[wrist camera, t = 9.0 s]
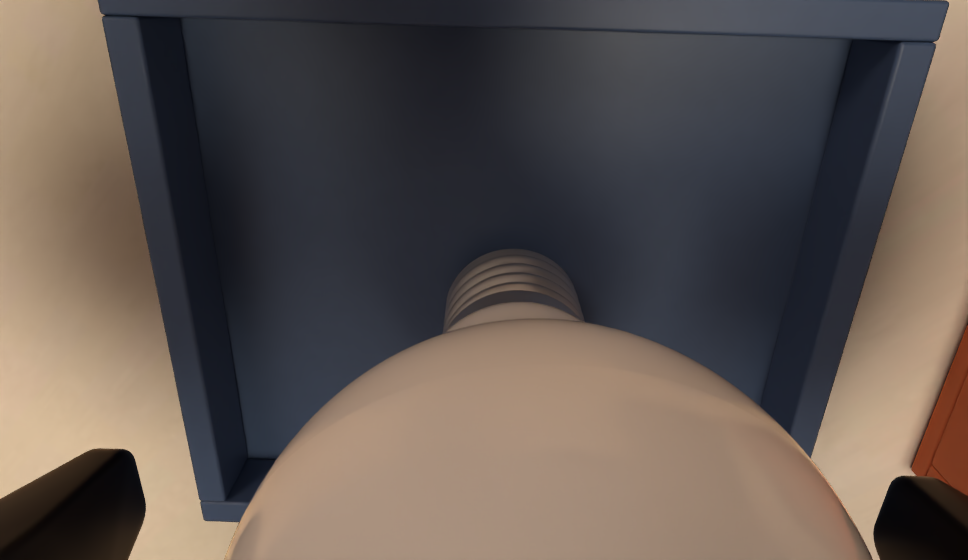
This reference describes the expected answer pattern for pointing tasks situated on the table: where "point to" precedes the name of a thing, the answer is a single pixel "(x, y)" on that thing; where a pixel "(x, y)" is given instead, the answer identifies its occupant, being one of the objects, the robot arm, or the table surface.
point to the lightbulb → (541, 449)
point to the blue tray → (504, 184)
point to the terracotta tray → (948, 428)
